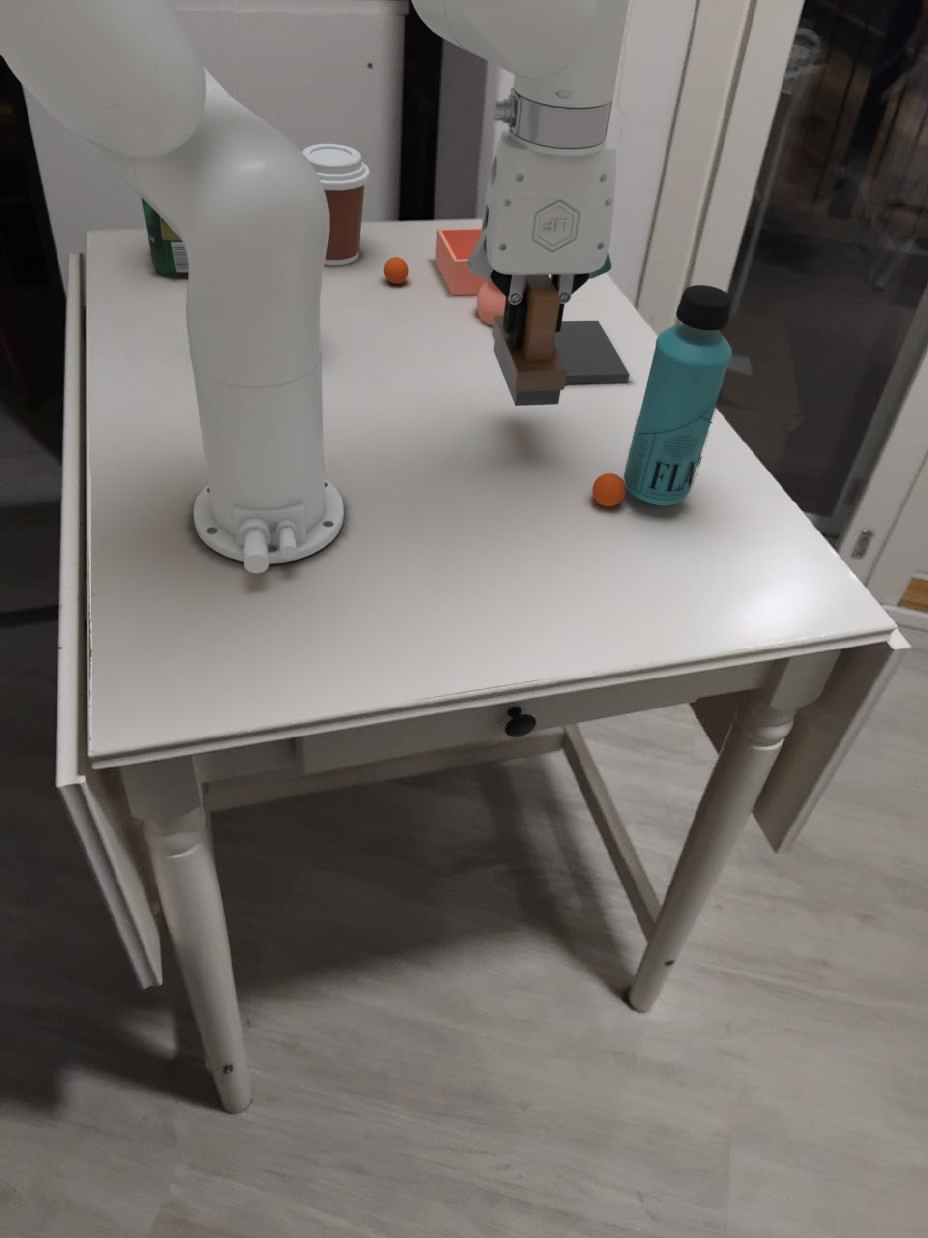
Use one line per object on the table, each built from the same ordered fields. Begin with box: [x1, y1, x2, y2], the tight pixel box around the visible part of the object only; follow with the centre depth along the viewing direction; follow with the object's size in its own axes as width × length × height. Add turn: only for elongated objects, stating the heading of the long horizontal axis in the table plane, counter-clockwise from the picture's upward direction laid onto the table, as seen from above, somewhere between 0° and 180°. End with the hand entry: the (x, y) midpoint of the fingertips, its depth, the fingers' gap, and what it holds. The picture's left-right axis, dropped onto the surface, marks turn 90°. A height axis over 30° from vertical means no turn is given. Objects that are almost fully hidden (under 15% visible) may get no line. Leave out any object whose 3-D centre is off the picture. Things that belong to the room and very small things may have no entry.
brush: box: [492, 274, 567, 407], centre depth 85 cm, size 10×4×10 cm, turn 11°
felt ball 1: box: [383, 256, 410, 285], centre depth 114 cm, size 3×3×3 cm
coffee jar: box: [140, 196, 189, 278], centre depth 108 cm, size 10×8×19 cm
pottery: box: [434, 227, 506, 327], centre depth 111 cm, size 18×10×10 cm, turn 14°
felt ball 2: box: [591, 472, 627, 507], centre depth 86 cm, size 3×3×3 cm
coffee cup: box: [301, 143, 371, 266], centre depth 115 cm, size 9×9×12 cm
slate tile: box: [554, 320, 631, 385], centre depth 105 cm, size 12×12×1 cm
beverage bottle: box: [623, 284, 733, 506], centre depth 81 cm, size 6×7×20 cm
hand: (530, 337), depth 85 cm, fingers closed on brush, 2 cm apart
